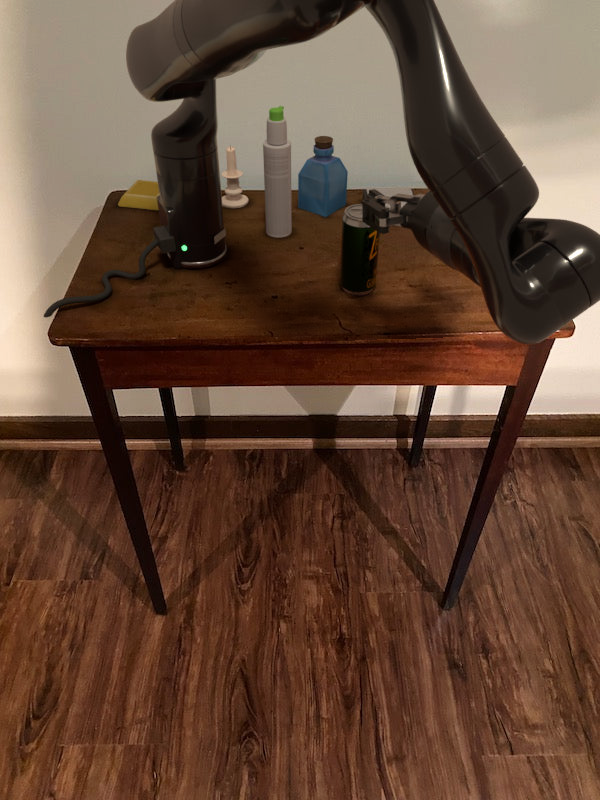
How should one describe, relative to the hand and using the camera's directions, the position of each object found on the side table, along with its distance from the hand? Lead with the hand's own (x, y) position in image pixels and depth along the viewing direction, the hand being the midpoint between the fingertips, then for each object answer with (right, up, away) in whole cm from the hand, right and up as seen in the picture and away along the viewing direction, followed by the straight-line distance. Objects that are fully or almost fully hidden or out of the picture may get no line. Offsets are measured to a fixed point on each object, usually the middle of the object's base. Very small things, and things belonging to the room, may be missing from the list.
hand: (403, 193), depth 83 cm
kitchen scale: (+3, +8, +36) cm, 37 cm away
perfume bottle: (-9, +9, +38) cm, 40 cm away
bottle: (-17, +3, +30) cm, 34 cm away
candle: (-25, +10, +39) cm, 47 cm away
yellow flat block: (-41, +13, +38) cm, 58 cm away
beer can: (-4, -9, +17) cm, 20 cm away
